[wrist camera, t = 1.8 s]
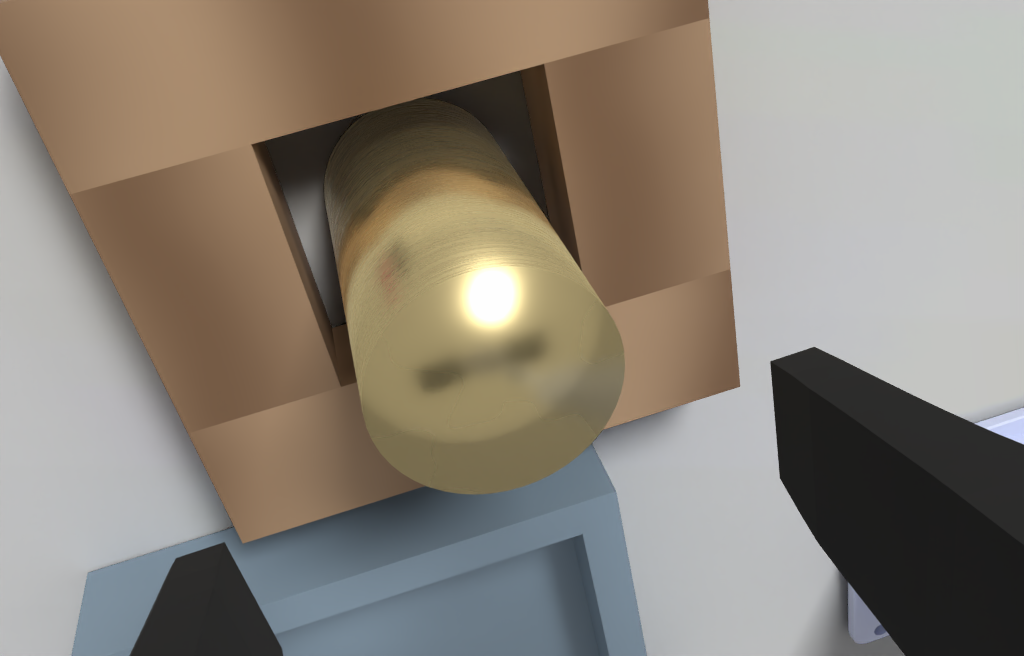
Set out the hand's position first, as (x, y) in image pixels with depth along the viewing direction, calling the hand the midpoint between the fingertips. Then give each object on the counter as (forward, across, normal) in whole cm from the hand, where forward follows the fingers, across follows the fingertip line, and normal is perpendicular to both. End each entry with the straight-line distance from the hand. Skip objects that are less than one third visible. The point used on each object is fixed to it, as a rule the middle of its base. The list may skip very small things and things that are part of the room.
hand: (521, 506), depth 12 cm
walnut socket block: (+10, 0, 0) cm, 10 cm away
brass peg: (+10, 0, 0) cm, 10 cm away
